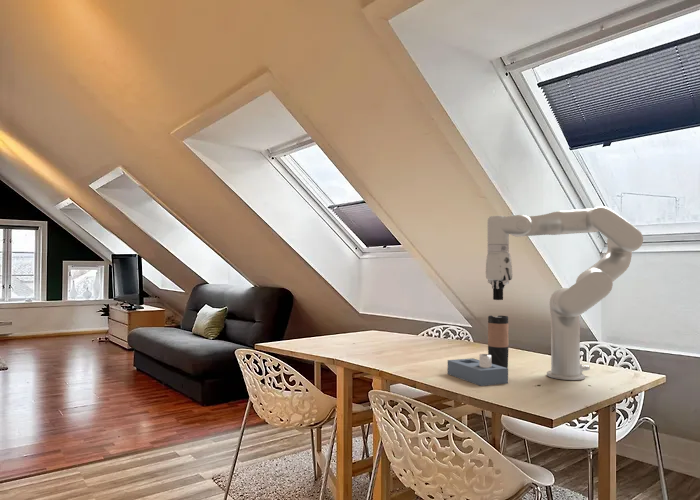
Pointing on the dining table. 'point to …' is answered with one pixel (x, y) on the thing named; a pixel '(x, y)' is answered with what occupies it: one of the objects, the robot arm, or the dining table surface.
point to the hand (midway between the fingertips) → (498, 299)
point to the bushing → (485, 361)
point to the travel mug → (498, 340)
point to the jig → (477, 372)
